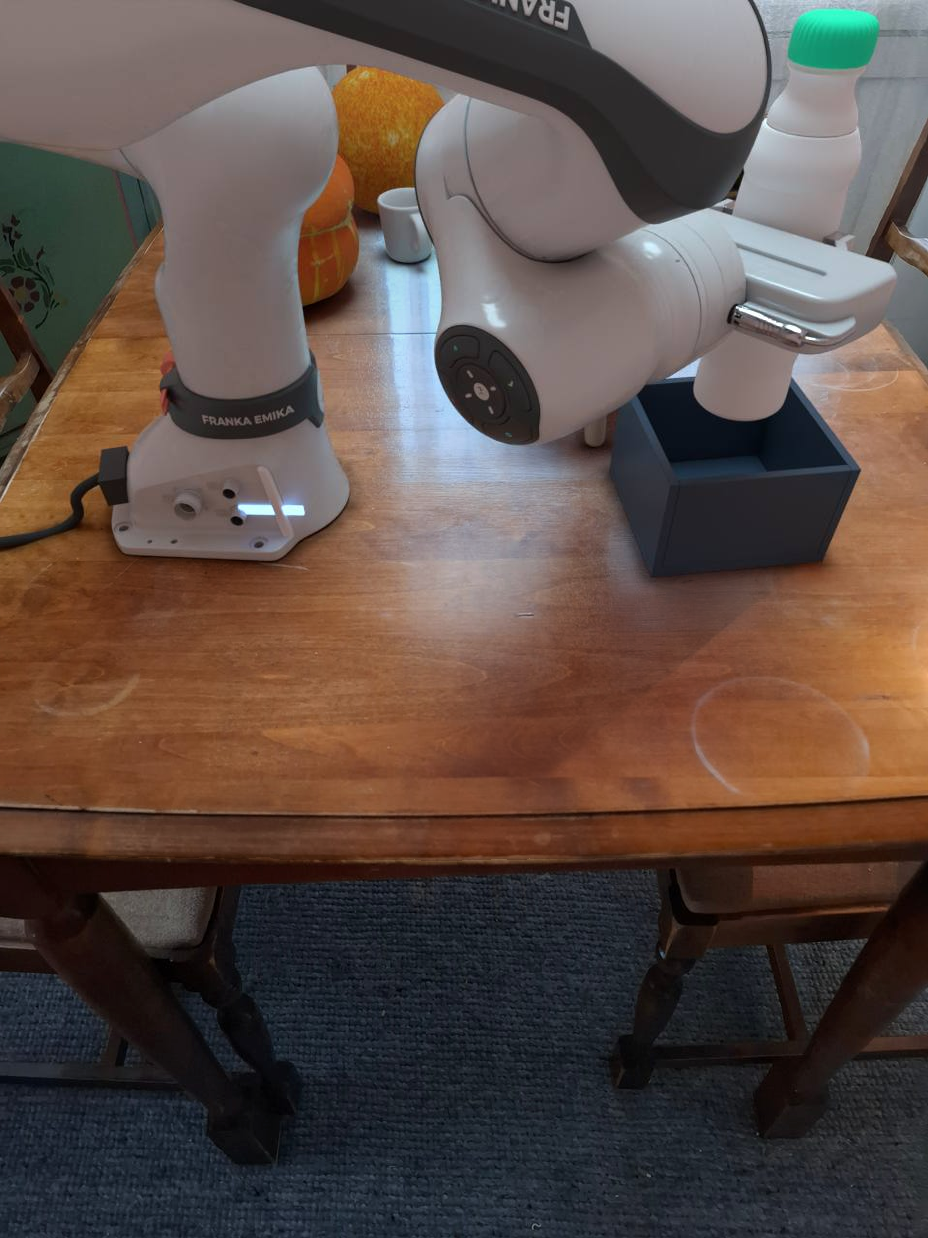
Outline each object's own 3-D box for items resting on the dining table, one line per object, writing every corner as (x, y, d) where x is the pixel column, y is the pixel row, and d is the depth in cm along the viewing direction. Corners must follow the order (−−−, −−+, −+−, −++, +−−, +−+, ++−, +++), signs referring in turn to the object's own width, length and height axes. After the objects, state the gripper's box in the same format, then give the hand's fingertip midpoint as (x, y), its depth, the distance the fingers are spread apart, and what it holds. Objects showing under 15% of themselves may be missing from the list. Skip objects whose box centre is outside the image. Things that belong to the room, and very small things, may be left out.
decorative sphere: (339, 188, 135) (322, 46, 121) (457, 188, 135) (454, 44, 120) (320, 236, 122) (298, 82, 107) (451, 235, 121) (447, 80, 106)
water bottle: (784, 429, 61) (916, 28, 43) (690, 419, 62) (779, 24, 44) (779, 382, 66) (896, 2, 47) (692, 373, 67) (773, -1, 48)
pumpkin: (251, 356, 97) (210, 178, 83) (170, 293, 109) (121, 128, 95) (402, 298, 107) (390, 130, 92) (312, 246, 119) (289, 90, 104)
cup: (452, 269, 113) (450, 209, 107) (398, 279, 111) (393, 219, 105) (426, 241, 120) (423, 183, 114) (375, 250, 118) (369, 192, 112)
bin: (650, 577, 70) (670, 485, 62) (609, 470, 80) (621, 381, 73) (822, 561, 71) (861, 469, 63) (759, 458, 81) (786, 368, 74)
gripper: (843, 295, 41) (959, 220, 47) (545, 195, 51) (674, 144, 57) (806, 404, 45) (916, 322, 52) (540, 292, 56) (660, 235, 62)
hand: (787, 228), depth 55 cm, fingers closed on water bottle, 7 cm apart
